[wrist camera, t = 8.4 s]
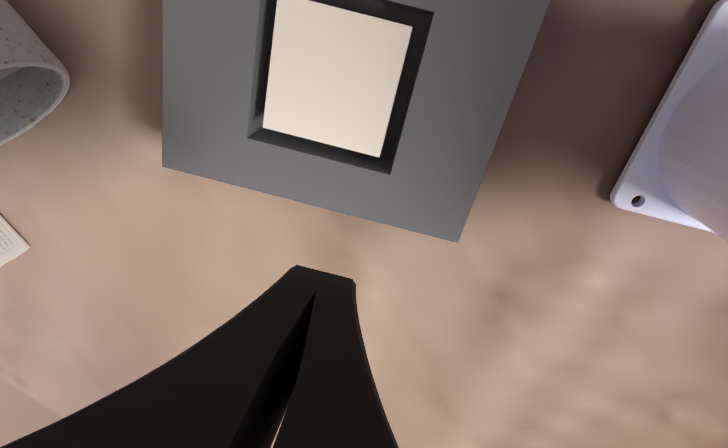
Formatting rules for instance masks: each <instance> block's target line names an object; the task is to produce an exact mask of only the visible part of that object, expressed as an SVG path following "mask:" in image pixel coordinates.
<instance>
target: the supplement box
mask: <svg viewBox="0 0 728 448" xmlns="http://www.w3.org/2000/svg"><path fill="white" fill-rule="evenodd" d="M29 248H30V246H29V245H28V244H27V243H26V242H25V241H24V239H23V238H22V237H21V236H20V235H19V234H18V233H17V232H16V231H15V230H14V229H13V228H12V227H11V226H10V225H9V224H8V222H7V221H6V220H5V219H4V218H3V217H2V216H1V215H0V267H1V266H2V265H4V264H6V263H7V262H9V261H11V260H12V259H14V258H16V257H17V256H19V255H20V254H22V253H23V252H25V251H26V250H27V249H29Z"/></svg>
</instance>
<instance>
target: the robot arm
mask: <svg viewBox="0 0 728 448" xmlns="http://www.w3.org/2000/svg"><path fill="white" fill-rule="evenodd" d="M636 196H641V197H640V200H639V201H638V202H636V203H634V204H631V201H632V199H633V198H634V197H636ZM610 201H611V202H612V204H613V205H615V206H616V207H617V208H620V209H623V210H627V211H631V212H635V213H639V214H643V215H646V216H650V217H654V218H658V219H662V220H666V221H670V222H674V223H678V224H681V225H685V226H689V227H693V228H697V229H701V230H705V231H709V232H712V233H716V234H718V235H719V236H721V237H722V238H724V239H725V240H727V241H728V0H719V1H718V2H717V3H715V5H714V6H713V7H712V9H711V10H710V12H709V14H708V16H707V18H706V19H705V21H704V23H703V25H702V27H701V29H700V30H699V32H698V34H697V36H696V38H695V40H694V41H693V43H692V45H691V47H690V49H689V51H688V52H687V54H686V56H685V58H684V60H683V62H682V63H681V65H680V67H679V69H678V71H677V73H676V74H675V76H674V78H673V80H672V82H671V84H670V85H669V87H668V89H667V91H666V93H665V95H664V96H663V98H662V100H661V102H660V104H659V106H658V107H657V109H656V111H655V113H654V115H653V117H652V118H651V120H650V122H649V124H648V126H647V128H646V129H645V131H644V133H643V135H642V137H641V138H640V140H639V142H638V144H637V146H636V148H635V149H634V151H633V153H632V155H631V157H630V159H629V160H628V162H627V164H626V166H625V168H624V170H623V171H622V173H621V175H620V177H619V179H618V181H617V182H616V184H615V186H614V188H613V190H612V192H611V194H610ZM287 406H288V407H287ZM286 409H287V410H286ZM285 411H286V412H285ZM284 414H285V415H284ZM283 416H284V418H283ZM282 418H283V421H282ZM281 421H282V424H281V427H280V429H279V432H278V435H277V438H276V440H275V443H274V446H273V448H399V447H398V445H397V442H396V440H395V438H394V435H393V433H392V430H391V428H390V425H389V423H388V420H387V417H386V415H385V412H384V409H383V406H382V403H381V401H380V398H379V395H378V392H377V389H376V385H375V382H374V379H373V376H372V373H371V369H370V366H369V362H368V359H367V355H366V350H365V346H364V342H363V338H362V334H361V329H360V324H359V318H358V312H357V304H356V284H355V283H354V281H353V279H350V278H346V277H342V276H338V275H334V274H330V273H326V272H322V271H318V270H314V269H310V268H306V267H303V266H299V265H296V266H294V267H292V268H290V269H289V270H288V271H287V272H286V273H285V274H284V275H283V276H282V277H281V278H280V279H279V280H278V281H277V282H276V283H275V284H273V285H272V286H271V287H270V288H269V289H268V290H266V291H265V292H264V293H263V294H262V295H261V296H259V297H258V298H257V299H256V300H254V301H253V302H252V303H251V304H249V305H248V306H247V307H246V308H244V309H243V310H242V311H241V312H239V313H238V314H237V315H235V316H234V317H233V318H232V319H230V320H229V321H228V322H226V323H225V324H223V325H222V326H220V327H219V328H218V329H216V330H215V331H213V332H212V333H210V334H209V335H208V336H206V337H205V338H203V339H202V340H200V341H199V342H198V343H196V344H195V345H193V346H192V347H190V348H189V349H187V350H186V351H184V352H182V353H181V354H179V355H178V356H176V357H175V358H173V359H171V360H170V361H168V362H166V363H165V364H163V365H161V366H160V367H158V368H156V369H155V370H153V371H151V372H150V373H148V374H146V375H144V376H143V377H141V378H139V379H138V380H136V381H134V382H132V383H130V384H129V385H127V386H125V387H123V388H121V389H119V390H117V391H115V392H113V393H112V394H110V395H108V396H106V397H104V398H102V399H100V400H98V401H97V402H95V403H93V404H91V405H89V406H87V407H85V408H83V409H81V410H79V411H77V412H75V413H73V414H71V415H69V416H67V417H65V418H63V419H61V420H59V421H57V422H55V423H53V424H51V425H49V426H47V427H44V428H42V429H40V430H38V431H36V432H33V433H31V434H29V435H27V436H24V437H22V438H20V439H18V440H16V441H13V442H11V443H9V444H7V445H5V446H2V447H0V448H270V447H271V445H272V442H273V440H274V438H275V435H276V433H277V430H278V428H279V426H280V423H281Z"/></svg>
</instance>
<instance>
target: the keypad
mask: <svg viewBox="0 0 728 448" xmlns="http://www.w3.org/2000/svg"><path fill="white" fill-rule="evenodd" d="M310 1H314V2H318V3H322V4H326V5H330V6H334V7H337V8H341V9H345V10H349V11H353V12H357V13H361V14H365V15H369V16H373V17H377V18H380V19H384V20H388V21H392V22H396V23H400V24H404V25H408V26H412V27H413V29H412V33H411V37H410V41H409V45H408V49H407V53H406V57H405V61H404V65H403V69H402V73H401V77H400V80H399V84H398V88H397V92H396V96H395V100H394V104H393V108H392V112H391V116H390V120H389V124H388V128H387V132H386V135H385V139H384V143H383V147H382V150H381V154H380V157H375V156H371V155H367V154H364V153H360V152H356V151H352V150H348V149H344V148H340V147H336V146H332V145H329V144H325V143H321V142H317V141H313V140H309V139H305V138H301V137H298V136H294V135H290V134H286V133H282V132H278V131H274V130H270V129H266V128H263V120H264V111H265V102H266V93H267V85H268V76H269V67H270V58H271V49H272V41H273V32H274V23H275V14H276V6H277V0H162V166H163V167H167V168H171V169H174V170H178V171H182V172H186V173H190V174H194V175H198V176H201V177H205V178H209V179H213V180H217V181H221V182H225V183H229V184H232V185H236V186H240V187H244V188H248V189H252V190H256V191H260V192H263V193H267V194H271V195H275V196H279V197H283V198H287V199H290V200H294V201H298V202H302V203H306V204H310V205H314V206H318V207H321V208H325V209H329V210H333V211H337V212H341V213H345V214H349V215H352V216H356V217H360V218H364V219H368V220H372V221H376V222H379V223H383V224H387V225H391V226H395V227H399V228H403V229H407V230H410V231H414V232H418V233H422V234H426V235H430V236H434V237H437V238H441V239H445V240H449V241H453V242H457V243H458V241H459V238H460V236H461V233H462V230H463V228H464V225H465V223H466V220H467V217H468V215H469V212H470V209H471V207H472V204H473V202H474V199H475V196H476V194H477V191H478V189H479V186H480V183H481V181H482V178H483V176H484V173H485V170H486V168H487V165H488V163H489V160H490V157H491V155H492V152H493V149H494V147H495V144H496V142H497V139H498V136H499V134H500V131H501V129H502V126H503V123H504V121H505V118H506V116H507V113H508V110H509V108H510V105H511V103H512V100H513V97H514V95H515V92H516V89H517V87H518V84H519V82H520V79H521V76H522V74H523V71H524V69H525V66H526V63H527V61H528V58H529V56H530V53H531V50H532V48H533V45H534V43H535V40H536V37H537V35H538V32H539V29H540V27H541V24H542V22H543V19H544V16H545V14H546V11H547V9H548V6H549V3H550V1H551V0H310Z"/></svg>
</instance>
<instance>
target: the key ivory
mask: <svg viewBox="0 0 728 448" xmlns="http://www.w3.org/2000/svg"><path fill="white" fill-rule="evenodd" d="M412 29H413V27H412V26H408V25H404V24H400V23H396V22H392V21H388V20H384V19H380V18H377V17H373V16H369V15H365V14H361V13H357V12H353V11H349V10H345V9H341V8H337V7H334V6H330V5H326V4H322V3H318V2H314V1H310V0H277V6H276V14H275V23H274V32H273V41H272V49H271V58H270V67H269V76H268V85H267V93H266V102H265V111H264V120H263V128H266V129H270V130H274V131H278V132H282V133H286V134H290V135H294V136H298V137H301V138H305V139H309V140H313V141H317V142H321V143H325V144H329V145H332V146H336V147H340V148H344V149H348V150H352V151H356V152H360V153H364V154H367V155H371V156H375V157H380V154H381V150H382V147H383V143H384V139H385V135H386V132H387V128H388V124H389V120H390V116H391V112H392V108H393V104H394V100H395V96H396V92H397V88H398V84H399V80H400V77H401V73H402V69H403V65H404V61H405V57H406V53H407V49H408V45H409V41H410V37H411V33H412Z"/></svg>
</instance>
